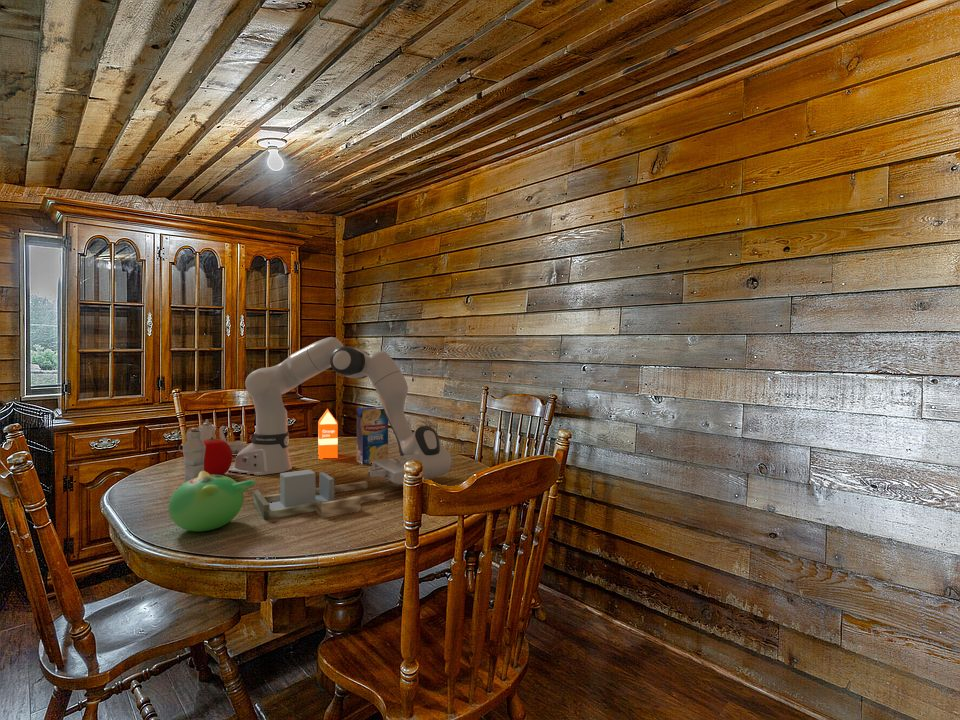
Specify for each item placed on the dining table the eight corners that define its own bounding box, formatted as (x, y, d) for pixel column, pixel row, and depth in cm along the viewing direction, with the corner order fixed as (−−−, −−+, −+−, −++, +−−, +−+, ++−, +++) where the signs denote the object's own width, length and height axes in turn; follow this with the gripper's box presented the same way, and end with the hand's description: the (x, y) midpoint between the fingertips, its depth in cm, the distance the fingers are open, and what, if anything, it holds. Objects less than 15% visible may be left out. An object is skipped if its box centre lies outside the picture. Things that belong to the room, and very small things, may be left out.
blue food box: (388, 461, 214) (388, 408, 213) (362, 465, 208) (362, 409, 207) (381, 458, 220) (381, 406, 219) (356, 461, 214) (356, 407, 213)
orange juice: (336, 454, 227) (336, 408, 226) (337, 458, 218) (338, 410, 217) (317, 454, 224) (317, 408, 223) (318, 459, 216) (318, 411, 215)
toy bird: (214, 513, 149) (214, 462, 149) (259, 522, 143) (259, 469, 142) (154, 535, 133) (153, 477, 132) (202, 546, 126) (201, 486, 126)
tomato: (188, 480, 182) (187, 440, 181) (200, 472, 193) (199, 434, 193) (226, 479, 184) (226, 439, 183) (236, 471, 195) (236, 433, 195)
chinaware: (251, 455, 228) (252, 417, 229) (239, 460, 211) (240, 419, 212) (182, 456, 224) (184, 417, 225) (164, 462, 208) (166, 419, 209)
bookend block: (323, 496, 167) (323, 465, 167) (334, 504, 159) (334, 472, 159) (264, 506, 157) (264, 473, 156) (272, 515, 149) (271, 480, 148)
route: (365, 486, 178) (365, 475, 178) (393, 505, 159) (393, 492, 159) (252, 503, 158) (252, 490, 158) (269, 527, 139) (269, 512, 139)
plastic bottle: (211, 491, 170) (210, 430, 169) (191, 497, 163) (191, 433, 163) (197, 489, 172) (197, 428, 171) (178, 494, 166) (177, 432, 165)
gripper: (395, 453, 186) (357, 457, 178) (421, 465, 169) (381, 470, 161) (394, 470, 186) (357, 475, 179) (421, 484, 169) (381, 490, 162)
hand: (369, 473), depth 170 cm, fingers closed
